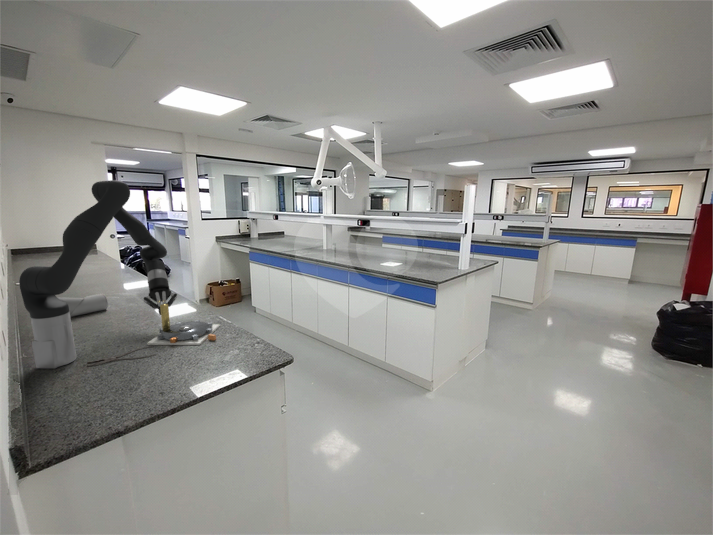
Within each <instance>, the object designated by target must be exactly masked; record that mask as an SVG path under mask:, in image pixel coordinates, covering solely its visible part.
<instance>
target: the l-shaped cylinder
mask: <svg viewBox="0 0 713 535" xmlns="http://www.w3.org/2000/svg"><path fill="white" fill-rule="evenodd" d="M56 297H57V296H56ZM57 298H58V299H60V300H61V301H64V302H66V303H67V304H68V306H69V311H70V318H72V317H77V316H82V315H86V314H91V313H96V312H102V311H105V310H107V309H108V308H109V306H108V305H109V303H108V298H107V296H106V295H105V294H104V293H97V294H92V295H91V294H90V295H86V296H85V297H57Z"/></svg>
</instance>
